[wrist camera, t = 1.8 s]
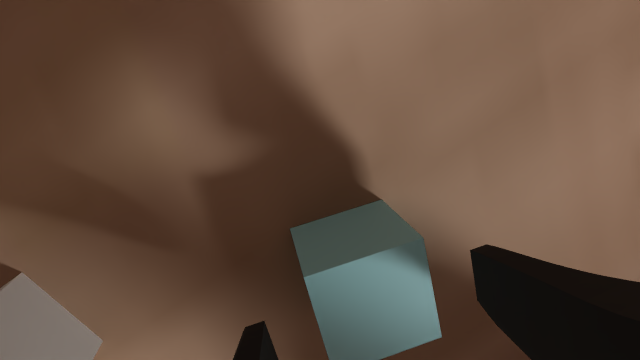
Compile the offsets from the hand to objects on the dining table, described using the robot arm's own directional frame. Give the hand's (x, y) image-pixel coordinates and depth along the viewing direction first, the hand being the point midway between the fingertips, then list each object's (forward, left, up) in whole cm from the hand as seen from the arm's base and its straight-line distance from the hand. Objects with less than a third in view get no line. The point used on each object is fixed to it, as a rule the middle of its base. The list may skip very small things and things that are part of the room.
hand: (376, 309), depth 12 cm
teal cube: (0, 0, -4) cm, 4 cm away
